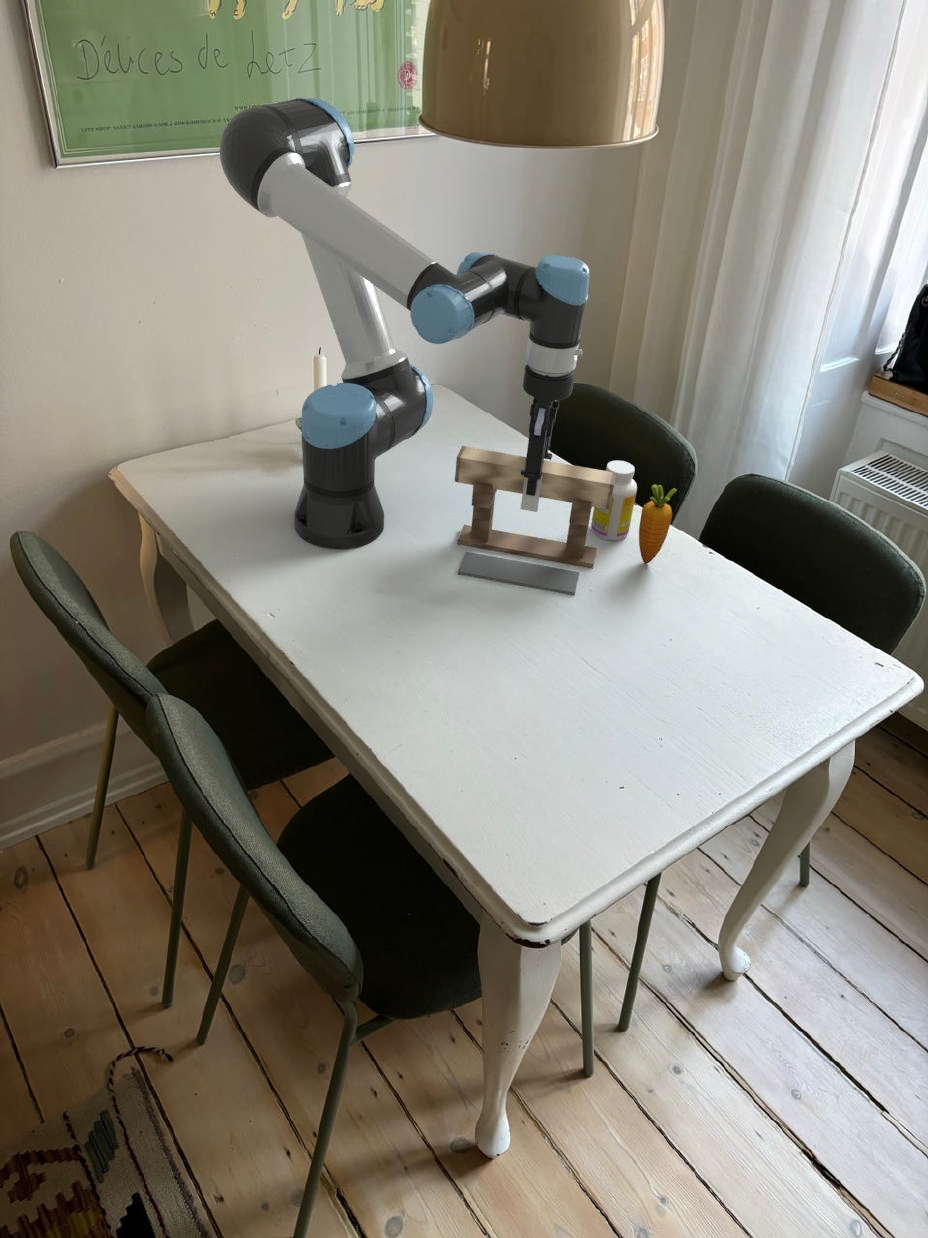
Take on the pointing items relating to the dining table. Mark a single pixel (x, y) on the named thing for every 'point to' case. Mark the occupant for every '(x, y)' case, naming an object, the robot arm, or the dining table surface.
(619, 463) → the supplement bottle
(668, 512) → the carrot
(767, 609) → the dining table surface
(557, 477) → the rail
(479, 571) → the mat
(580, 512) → the rack
